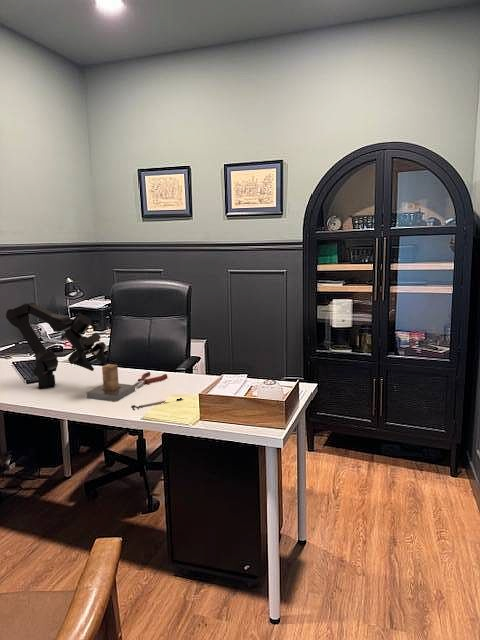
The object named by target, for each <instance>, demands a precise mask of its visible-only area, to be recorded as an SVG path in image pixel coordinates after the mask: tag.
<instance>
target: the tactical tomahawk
mask: <svg viewBox="0 0 480 640" xmlns="http://www.w3.org/2000/svg"><path fill="white" fill-rule="evenodd" d="M165 401H166V400H161V401H157V402H151V403H146V404H141V405H138V406H137V405H135V404H134V405H131V407H130V408H131V409H132V410H133V411H136V409H137V410H140V409H143V408H146V407H152V406H157V405H162V404H161V403H163V402H165ZM135 408H136V409H135Z"/></svg>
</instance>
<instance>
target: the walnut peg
mask: <svg viewBox="0 0 480 640" xmlns="http://www.w3.org/2000/svg"><path fill="white" fill-rule="evenodd" d="M118 369H119V368H118V364H113V363H108V364H107V365H105V364H104V365H103V366H102V367H101V370H102V385H103V387H104V391H112V392H113V391H115V390H117V389H119V384H120V382H119V370H118Z"/></svg>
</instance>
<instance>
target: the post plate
mask: <svg viewBox="0 0 480 640" xmlns="http://www.w3.org/2000/svg"><path fill="white" fill-rule="evenodd" d="M134 392H136V387H135V385H134V384H127V383H126V384H125V383H119V389H117V390H115V391H113V392H112V391H104V387H103V384H101V385H99V386H97V387H95V388H91V390H88V391H87V392H86V398H87V399H91V400H92V399H93V400H100V401H109V402H118V401H119V400H122V399H124V398H125V397H127V396H129V395H131V394H132V393H134Z"/></svg>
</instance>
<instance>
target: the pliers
mask: <svg viewBox="0 0 480 640" xmlns="http://www.w3.org/2000/svg"><path fill="white" fill-rule="evenodd" d="M148 377H150V378H148ZM166 379H168V374H167V373H164V374H162V375H158V376H154V377H151V372H150V371H148V372H145V373H143V374H142V375H141V377H140V378H138V379H137V382H135V383H134V384H133V385H135V389H137V388H141V387H143V386H144V385H150V384H153V383H157V382H158V383H159V382H161V381H164V380H166Z"/></svg>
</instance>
